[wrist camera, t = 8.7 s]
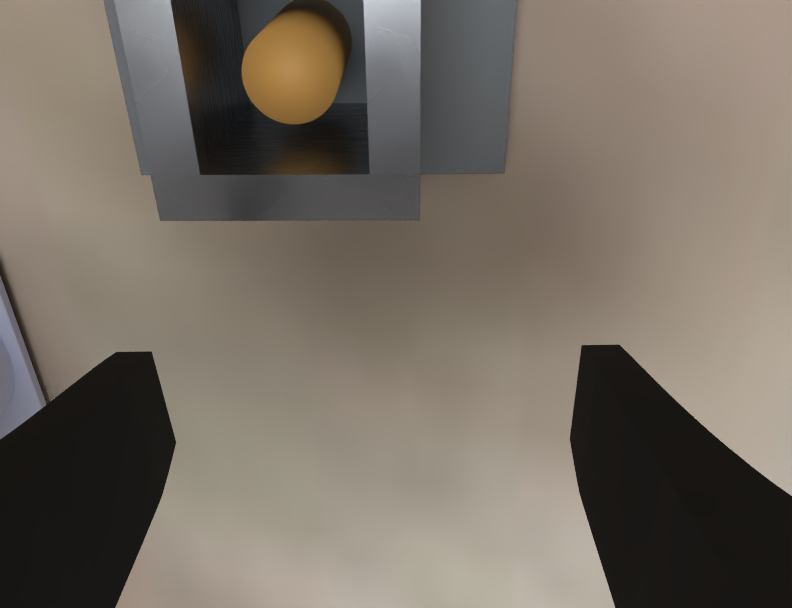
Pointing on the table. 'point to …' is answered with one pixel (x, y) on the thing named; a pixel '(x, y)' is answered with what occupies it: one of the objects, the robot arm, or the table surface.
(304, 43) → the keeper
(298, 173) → the link
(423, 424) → the table surface
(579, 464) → the robot arm
